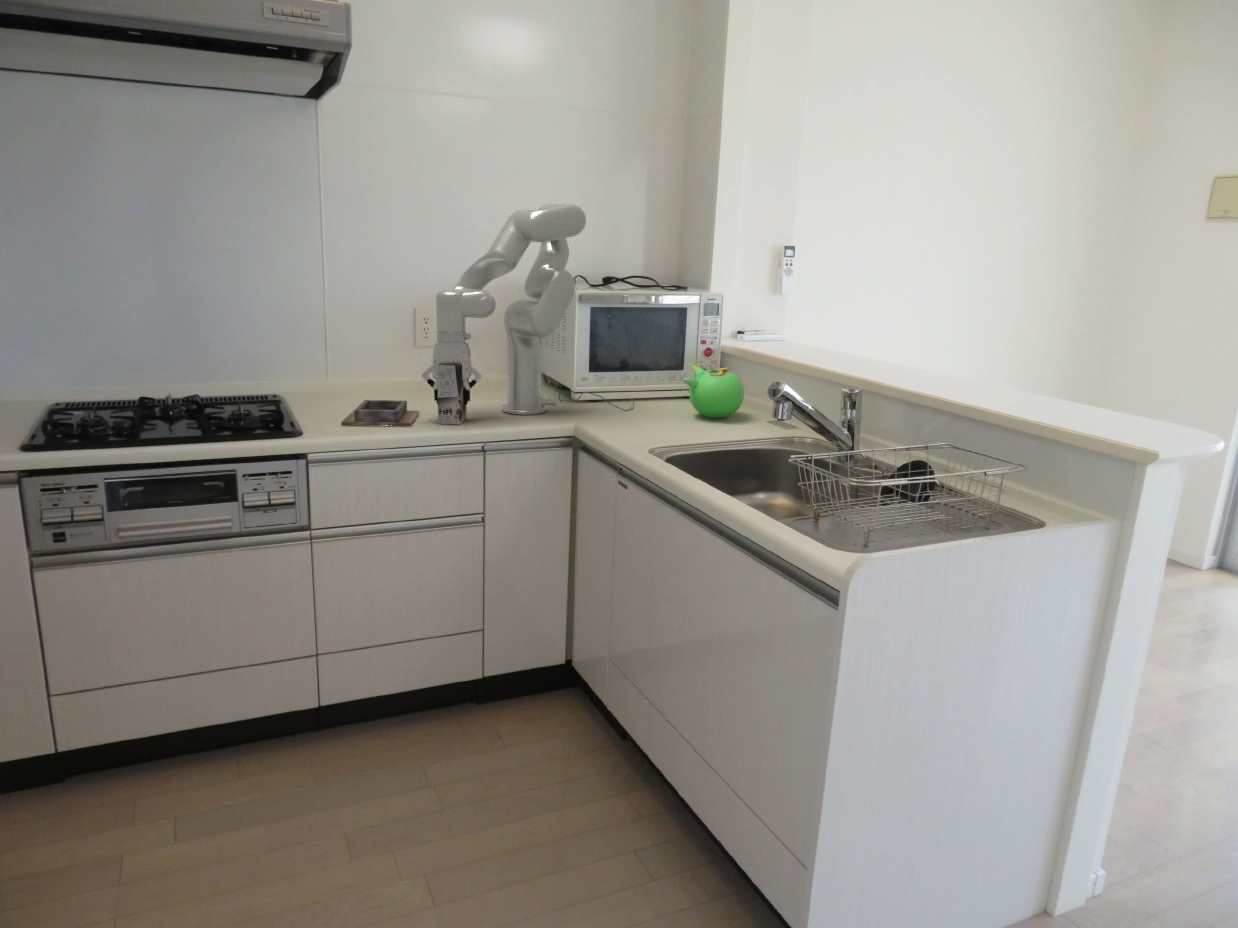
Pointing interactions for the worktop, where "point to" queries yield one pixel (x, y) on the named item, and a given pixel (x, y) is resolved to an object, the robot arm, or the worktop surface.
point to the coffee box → (450, 394)
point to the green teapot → (715, 392)
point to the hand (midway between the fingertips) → (452, 403)
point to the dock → (381, 414)
